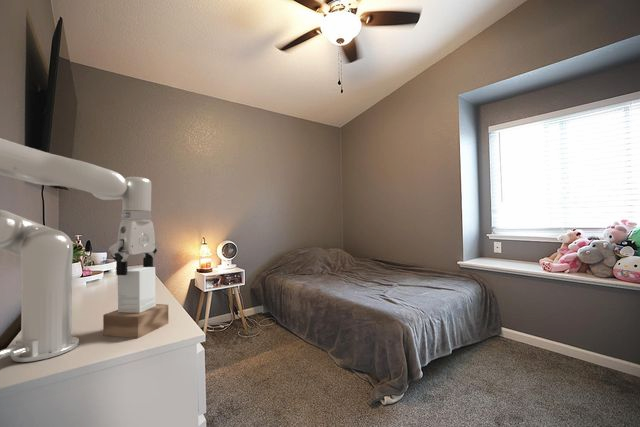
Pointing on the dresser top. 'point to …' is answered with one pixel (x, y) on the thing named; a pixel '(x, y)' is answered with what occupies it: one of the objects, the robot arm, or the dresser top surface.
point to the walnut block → (135, 322)
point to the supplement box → (137, 290)
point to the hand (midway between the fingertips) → (135, 272)
